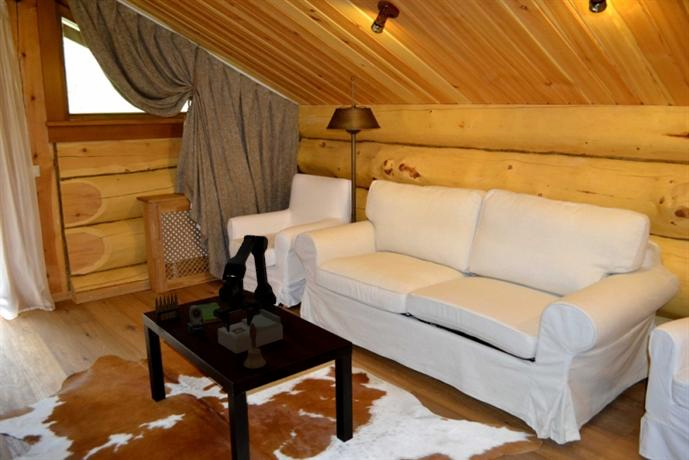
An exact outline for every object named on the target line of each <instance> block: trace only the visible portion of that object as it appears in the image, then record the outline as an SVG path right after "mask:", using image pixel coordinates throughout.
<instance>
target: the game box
mask: <svg viewBox="0 0 689 460" xmlns="http://www.w3.org/2000/svg"><path fill="white" fill-rule="evenodd" d="M219 305H220V304H219V303H218V302H211V303H204V304H197V305H196V306H197V307H199V309H201V311H202V312H203V313H202V316H201V320H202V321H203V324H204V325H205V324H211V323H216V322H222V320H221V319H218V318H216V317H215V316H213V311H214V310H215V309H217V308H221V307H220V306H219Z"/></svg>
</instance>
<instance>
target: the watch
mask: <svg viewBox="0 0 689 460" xmlns="http://www.w3.org/2000/svg"><path fill="white" fill-rule="evenodd" d="M202 313H203V312H202V311H201V309H199V307H197V305H190V306H189V319H190V322H187V323H186V324H187V325H186V326H187V331H188V332H189V333H190V334H194V333H200V332H204V330H205V329H204V322H202V321H201V320H202V318H201V316H202Z"/></svg>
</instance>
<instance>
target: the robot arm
mask: <svg viewBox="0 0 689 460" xmlns="http://www.w3.org/2000/svg"><path fill="white" fill-rule="evenodd" d="M268 246H269V239H268V238H267V236H265V235H256V234H255V235H254V234H246V235H244V236H243V241H242V242H241V245H240V246H239V248H238V249H237V252H236V254H235V255H234V256H232V257H231V258H229V259H228V260H227V262H226V264H225V265H224V270H223V273H222V278H221V281H223V283H222V286H221V287H220V288H219V291H218V305H223V306H221V307H220V308H217V309H215V310H214V311H213V316H215V317H216V318H218V319H221V320H222V321H221V322H222V323H223V325H224V326H223V327H225V328H226V330H227V332H230V325H231V317H230V314H232V313H236V312H239V311H243V310H245V312H246V318H247V326H250V324H251V322H252V319H253V317H254V316H256V315H260V310H261V309H264V310H266V311H268V312H270V313H272V314H274V315H276V313H275V309H274V307H275V306H274V305H277V296H276V294H275V292H274V289H273V287H272V286H271V284H270V283H269V281H268V273H267V271H268V269H267V262H266V255H265V254H266V253H267V249H268ZM250 255H252V256H253V260H254V261H253V262H254V268H255V276H256V277H255V278H256V287H255V289H254V291H253V298H252V299H248V300H245V298H247V295H246V294H245V286H244V279H245V276H246V273H247V265H246V262H247V261H248V259H249V256H250ZM225 306H226V307H227V308H225Z"/></svg>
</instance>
